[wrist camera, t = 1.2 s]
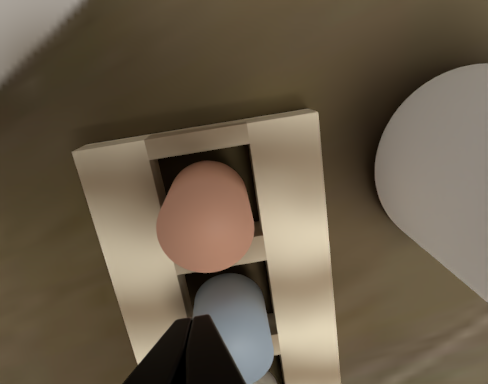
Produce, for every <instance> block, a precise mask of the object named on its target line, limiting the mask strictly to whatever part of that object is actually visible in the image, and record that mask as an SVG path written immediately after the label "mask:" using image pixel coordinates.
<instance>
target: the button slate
mask: <svg viewBox="0 0 488 384" xmlns="http://www.w3.org/2000/svg"><path fill="white" fill-rule="evenodd" d="M205 314H209V315H210V316H211V318H212V320H213V322H214V324H215V326H216V327H217V329H218V331H219V333H220V335H221V337H222V339H223V341H224V342H225V344H226V346H227V348H228V350H229V352H230V354H231V356H232V357H233V359H234V361H235V363H236V365H237V367H238V369H239V371H240V373H241V374H242V376H243V378H244V380H245V382H246V384H253V383H255V382H256V381H258V380H259V379H260V378H262V377H263V376H264V375H265V374H266V372H267V371H268V370H269V368H270V366H271V364H272V362H273V358H274V348H273V343H272V338H271V333H270V328H269V323H268V318H267V313H266V308H265V302H264V297H263V294H262V291H261V289H260V288H259V286H258V285H257V284H256V283H255V282H254V281H253V280H251V279H250V278H248V277H246V276H244V275H241V274H236V273H225V274H220V275H217V276H214V277H212V278H210V279H208V280H207V281H206V282H205V283H203V284H202V286H201V287H200V288H199V290H198V291H197V293H196V296H195V301H194V309H193V317H195V316H199V315H205ZM192 319H193V318H192Z"/></svg>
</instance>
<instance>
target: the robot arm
mask: <svg viewBox="0 0 488 384" xmlns="http://www.w3.org/2000/svg"><path fill="white" fill-rule="evenodd" d="M123 384H246V382H245V380H244V378H243V376H242V374H241V373H240V371H239V369H238V367H237V365H236V363H235V361H234V359H233V357H232V356H231V354H230V352H229V350H228V348H227V346H226V344H225V342H224V341H223V339H222V337H221V335H220V333H219V331H218V329H217V327H216V326H215V324H214V322H213V320H212V318H211V316H210V315H209V314H205V315H199V316H195V317H193V319H192V318H191V317H187V318H181V319H177V320H175V321H174V322H173V323H172V325H171V326H170V327H169V328H168V329H167V331H166V332H165V333H164V334H163V335H162V337H161V338H160V339H159V340H158V341H157V343H156V344H155V345H154V346H153V347H152V349H151V350H150V351H149V352H148V353H147V355H146V356H145V357H144V358H143V359H142V361H141V362H140V363H139V364H138V365H137V367H136V368H135V369H134V370H133V371H132V373H131V374H130V375H129V376H128V378H127V379H126V380H125V381H124V382H123Z"/></svg>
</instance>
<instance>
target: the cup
mask: <svg viewBox="0 0 488 384" xmlns="http://www.w3.org/2000/svg"><path fill="white" fill-rule="evenodd" d="M375 184H376V189H377V193H378V196H379V199H380V202H381V204H382V206H383V208H384V210H385V212H386V213H387V215H388V216H389V217H390V219H391V220H392V221H393V222H394V224H395V225H396V226H397V227H398V228H400V229H401V230H402V231H403V232H404V233H405V234H407V235H408V236H409V237H410V238H411V239H412V240H414V241H415V242H416V243H417V244H418V245H420V246H421V247H422V248H423V249H424V250H426V251H427V252H428V253H429V254H430V255H432V256H433V257H434V258H435V259H436V260H438V261H439V262H440V263H441V264H442V265H444V266H445V267H446V268H447V269H448V270H450V271H451V272H452V273H453V274H454V275H456V276H457V277H458V278H459V279H460V280H461V281H463V282H464V283H465V284H466V285H467V286H469V287H470V288H471V289H472V290H473V291H475V292H476V293H477V294H478V295H479V296H481V297H482V298H483V299H484V300H485V301H486V302H488V63H484V64H473V65H468V66H463V67H459V68H456V69H453V70H450V71H447V72H445V73H443V74H441V75H439V76H437V77H435V78H433V79H431V80H430V81H428V82H426V83H425V84H423V85H422V86H421V87H419V88H418V89H417V90H415V91H414V92H413V93H412V94H411V95H410V96H409V97H408V98H407V99H406V100H405V101H404V102H403V103H402V104H401V105H400V106H399V108H398V109H397V110H396V112H395V113H394V114H393V116H392V117H391V119H390V121H389V122H388V124H387V126H386V128H385V130H384V132H383V134H382V136H381V139H380V142H379V145H378V149H377V153H376V159H375Z"/></svg>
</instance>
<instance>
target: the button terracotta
mask: <svg viewBox="0 0 488 384" xmlns="http://www.w3.org/2000/svg"><path fill="white" fill-rule="evenodd" d="M156 233H157V238H158V241H159V244H160V246H161V248H162V250H163V251H164V253H165V254H166V255H167V256H168V257H169V259H171V260H172V261H173V262H174V263H176V264H177V265H179V266H180V267H182V268H184V269H187V270H190V271H194V272H200V273H211V272H217V271H221V270H224V269H227V268H229V267H231V266H232V265H234V264H235V263H237V262H238V261H239V260H240V259H241V258H242V257H243V256H244V255H245V254H246V252H247V251H248V249H249V248H250V246H251V243H252V240H253V236H254V220H253V216H252V211H251V207H250V203H249V199H248V194H247V190H246V186H245V184H244V182H243V180H242V178H241V177H240V175H239V174H238V173H237V172H236V171H235V170H234V169H232V168H231V167H229V166H228V165H226V164H224V163H221V162H217V161H208V160H206V161H199V162H195V163H193V164H191V165H189V166H187V167H185V168H184V169H183V170H182V171H181V172H179V174H178V175H177V176H176V178H175V179H174V181H173V183H172V185H171V187H170V190H169V192H168V194H167V196H166V198H165V201H164V203H163V205H162V207H161V209H160V212H159V214H158V218H157V223H156Z"/></svg>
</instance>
